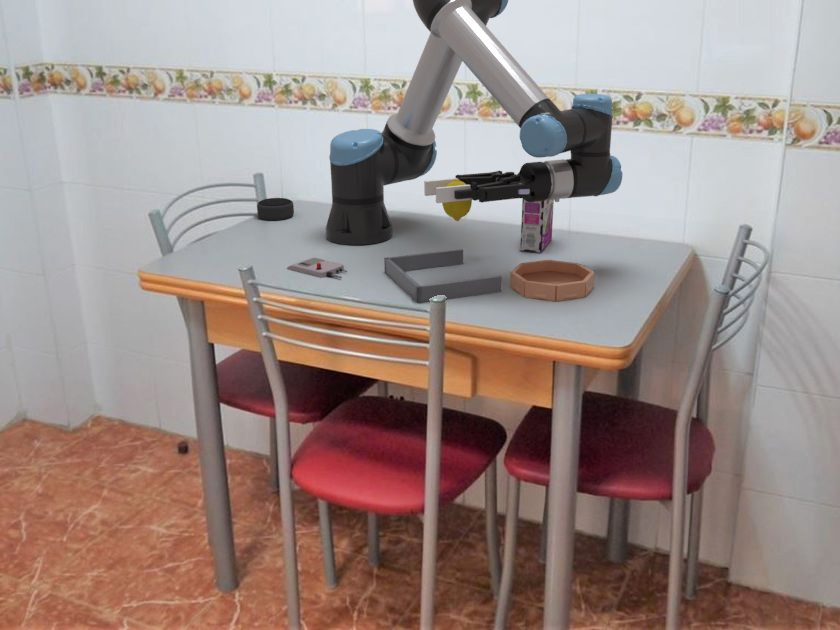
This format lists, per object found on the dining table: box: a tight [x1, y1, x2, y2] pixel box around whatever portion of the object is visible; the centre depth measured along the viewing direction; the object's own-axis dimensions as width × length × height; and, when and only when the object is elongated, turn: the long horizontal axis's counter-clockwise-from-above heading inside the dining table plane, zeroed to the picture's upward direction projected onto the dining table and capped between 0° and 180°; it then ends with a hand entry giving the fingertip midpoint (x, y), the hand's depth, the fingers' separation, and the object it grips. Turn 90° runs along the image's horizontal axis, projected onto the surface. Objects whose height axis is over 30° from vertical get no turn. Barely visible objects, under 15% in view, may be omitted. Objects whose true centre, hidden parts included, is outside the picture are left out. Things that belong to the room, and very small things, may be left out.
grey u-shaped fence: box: [383, 248, 503, 304], centre depth 181 cm, size 20×17×3 cm
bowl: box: [509, 259, 595, 302], centre depth 177 cm, size 15×15×3 cm
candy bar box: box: [519, 198, 555, 254], centre depth 201 cm, size 11×5×16 cm, turn 161°
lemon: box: [441, 179, 473, 222], centre depth 173 cm, size 6×6×8 cm
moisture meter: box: [286, 257, 348, 279], centre depth 189 cm, size 7×16×3 cm, turn 52°
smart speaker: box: [256, 197, 295, 221], centre depth 229 cm, size 9×9×4 cm
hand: (430, 191), depth 171 cm, fingers closed on lemon, 5 cm apart
